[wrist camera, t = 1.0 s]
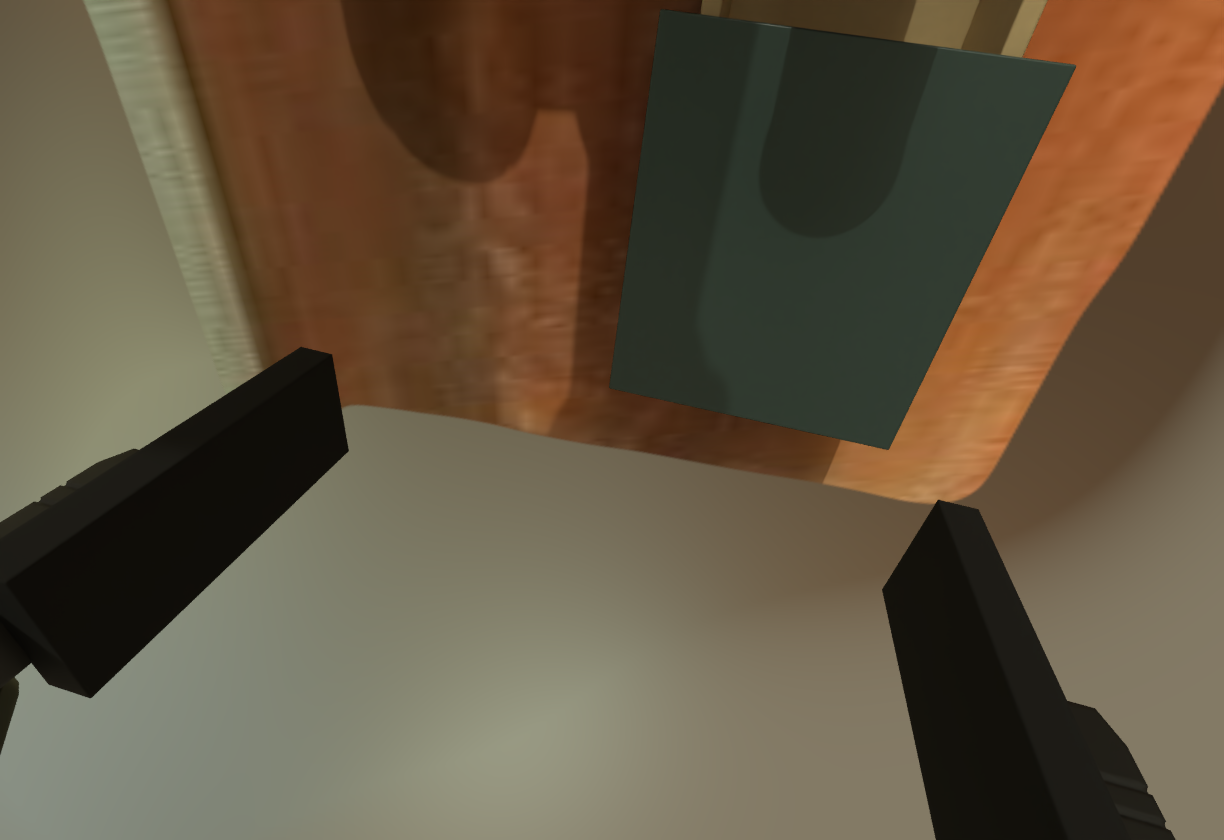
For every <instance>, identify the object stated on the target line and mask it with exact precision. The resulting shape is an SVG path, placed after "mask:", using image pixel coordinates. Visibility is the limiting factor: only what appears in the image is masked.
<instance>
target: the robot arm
mask: <svg viewBox="0 0 1224 840" xmlns="http://www.w3.org/2000/svg"><path fill="white" fill-rule="evenodd" d="M348 451H349V449H348V444H347V438H346V433H345V427H344V421H343V415H342V409H341V403H340V398H339V392H338V386H337V380H336V374H335V369H334V363H333V357H332V354H328V353H324V352H320V351H316V350H312V349H308V348H303V347H300V348H299V349H297V350H295V351H294V352H292V353H291V354H289V355H288V356H286V357H284V358H283V359H281V360H280V361H278V362H277V363H275V364H273V365H272V366H270V367H269V368H267V369H266V370H264V371H262V372H261V373H259V374H258V375H256V376H255V377H253V378H251V379H250V380H248V381H247V382H245V383H244V384H242V385H240V386H239V387H237V388H236V389H234V390H233V391H231V392H230V393H228V394H226V395H225V396H223V397H222V398H220V399H219V400H217V401H216V402H214V403H212V404H211V405H209V406H208V407H206V408H205V409H203V410H202V411H200V412H198V413H197V414H195V415H193V416H192V417H191V418H189V419H187V420H186V421H184V422H182V423H181V424H180V425H178V426H176V427H175V428H173V429H171V430H170V431H168V432H167V433H165V434H164V435H162V436H160V437H159V438H157V439H156V440H154V441H153V442H151V443H150V444H148V445H146V446H145V447H144V448H142V449H140V450H137V449H132V450H129V451H126V452H124V453H121V454H119V455H116V456H113V457H111V458H108V459H105V460H103V461H100V462H98V463H96V464H94V465H93V466H91V467H89V468H88V469H86V470H85V471H83V472H81V473H80V474H78V475H76V476H75V477H73V478H72V479H70V480H68V481H67V483H66V485H65V486H59V487H57V488H55V489H54V490H52V491H50V492H49V493H47V494H46V495H44V496H42V497H41V500H40V501H39V502H33V503H31V504H29V505H28V506H26V507H24V508H23V509H21V510H20V511H18V512H16V513H15V514H13V515H11V516H10V517H8V518H7V519H5V520H3V521H2V522H0V754H1V750H2V747H3V744H4V741H5V738H6V734H7V731H8V728H9V724H10V721H11V718H12V715H13V711H14V708H15V705H16V702H17V698H18V695H19V682H18V681H17V680H16V679H15V676H16V675H17V674H18V673H20V672H21V671H22V670H23V669H24V668H25V667H27V666H28V665H29V664H30V663H32V664H33V665H34V667H35V668H36V669H37V670H38V672H39V673H40V674H41V675H42V677H43V678H44V679H45V680H46V682H47V683H48V684H49V685H52V686H55V687H58V688H61V689H64V690H67V691H70V692H73V693H76V694H79V695H82V696H85V697H88V698H92V697H93V696H94V695H95V694H96V693H97V692H98V691H99V690H100V689H101V688H102V687H103V686H104V685H105V684H106V683H107V682H108V681H109V680H111V679H112V678H113V677H114V676H115V674H117V673H118V672H119V671H120V670H121V669H122V668H123V667H124V666H125V665H126V664H127V663H128V662H129V661H130V660H131V659H132V658H133V657H135V656H136V654H138V653H139V652H140V651H141V650H142V649H143V648H144V647H145V646H146V645H147V644H148V643H149V642H150V641H151V640H152V639H153V638H154V637H155V636H156V635H157V634H158V633H160V632H161V631H162V630H163V629H164V628H165V627H166V626H167V625H168V624H169V623H170V622H171V621H172V620H173V619H174V618H175V617H176V616H177V615H178V614H179V613H180V612H181V611H182V610H184V609H185V608H186V607H187V606H188V605H189V604H190V603H191V602H192V601H193V600H194V599H195V598H196V597H197V596H198V595H199V594H200V593H201V592H202V591H203V590H204V589H205V588H206V587H207V586H208V585H210V584H211V583H212V582H213V581H214V580H215V579H216V578H217V577H218V576H219V575H220V574H221V573H222V572H223V571H224V570H225V569H226V568H227V567H228V566H229V565H230V564H231V563H233V562H234V560H236V559H237V558H238V557H239V556H240V555H241V554H242V553H243V552H244V551H245V550H246V549H247V548H248V547H249V546H250V545H251V544H252V543H253V542H254V541H255V540H256V539H257V538H259V537H260V536H261V535H262V534H263V533H264V532H265V531H266V530H267V529H268V528H269V527H270V526H271V525H272V524H273V523H274V522H275V521H276V520H277V519H278V518H279V517H280V516H281V515H282V514H284V513H285V512H286V511H287V510H288V509H289V508H290V507H291V506H292V505H293V504H294V503H295V502H296V501H297V500H298V499H299V498H300V497H301V496H302V495H303V494H304V493H305V492H306V491H307V490H309V488H311V487H312V486H313V485H314V484H315V483H316V482H317V481H318V480H319V479H320V478H321V477H322V476H323V475H324V474H325V473H326V472H327V471H328V470H329V469H330V468H331V467H333V466H334V465H335V464H336V463H337V462H338V461H339V460H340V459H341V458H342V457H343V456H344V455H345V454H346V453H347V452H348ZM882 591H883V596H884V601H885V605H886V610H887V614H888V619H889V624H890V628H891V633H892V638H893V642H894V647H895V652H896V656H897V661H898V665H899V670H900V675H901V679H902V684H903V689H904V693H905V698H906V703H907V707H908V712H909V717H910V721H911V726H912V731H913V735H914V740H915V745H916V749H917V753H918V758H919V763H920V768H921V773H922V777H923V782H924V786H925V791H926V795H927V801H928V805H929V809H930V814H931V819H932V823H933V828H934V833H935V838H936V840H1175V838H1174V836H1173V834H1172V832H1171V831H1170V830H1168V829H1166V827H1165V822H1166V821H1165V819H1164V817H1163V815H1162V813H1161V811H1160V809H1159V807H1158V805H1157V803H1156V801H1155V799H1154V797H1153V796H1152V795H1150V794H1148V792H1147V788H1148V786H1147V784H1146V782H1145V780H1144V778H1143V776H1142V774H1141V772H1140V770H1139V768H1138V767H1137V765H1136V763H1135V761H1134V759H1133V757H1132V755H1131V753H1130V751H1129V749H1128V747H1127V746H1126V745H1125V743H1124V742H1123V741H1122V740H1121V739H1120V738H1119V736H1118V735H1117V734H1116V733H1115V732H1114V730H1113V729H1112V728H1111V727H1110V726H1109V725H1108V723H1107V722H1106V721H1105V720H1104V719H1103V717H1102V716H1101V715H1100V714H1099V713H1098V712H1097V710H1096V709H1095V708H1091V707H1088V706H1084V705H1080V704H1077V703H1073V702H1070V701H1067V700H1066V698H1065V695H1064V693H1063V691H1062V689H1061V687H1060V685H1059V682H1058V680H1057V678H1056V676H1055V674H1054V672H1053V670H1052V667H1051V665H1050V663H1049V661H1048V659H1047V657H1046V654H1045V652H1044V650H1043V648H1042V646H1041V644H1040V641H1039V639H1038V637H1037V635H1036V633H1035V631H1034V628H1033V626H1032V624H1031V622H1030V620H1029V618H1028V615H1027V613H1026V611H1025V609H1024V607H1023V605H1022V602H1021V600H1020V598H1019V596H1018V594H1017V592H1016V590H1015V587H1014V585H1013V583H1012V581H1011V579H1010V577H1009V574H1008V572H1007V570H1006V568H1005V566H1004V564H1003V561H1002V559H1001V557H1000V555H999V553H998V551H997V549H996V546H995V544H994V542H993V540H992V538H991V535H990V533H989V531H988V529H987V527H986V525H985V522H984V520H983V518H982V516H981V514H980V512H979V510H978V509H974V508H970V507H966V506H962V505H958V504H954V503H950V502H945V501H941V500H938V501H937V502H936V504H935V506H934V507H933V509H932V510H931V512H930V514H929V515H928V517H927V518H926V520H925V522H924V523H923V525H922V526H921V528H920V530H919V531H918V533H917V535H916V536H915V538H914V539H913V541H912V542H911V544H910V546H909V547H908V549H907V551H906V552H905V554H904V555H903V557H902V559H901V560H900V562H899V563H898V565H897V567H896V568H895V570H894V571H893V573H892V575H891V576H890V578H889V579H888V581H887V583H886V584H885V586H884V587H883V589H882Z"/></svg>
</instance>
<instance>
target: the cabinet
mask: <svg viewBox="0 0 1224 840" xmlns="http://www.w3.org/2000/svg"><path fill="white" fill-rule="evenodd" d="M1075 68H1076V65H1073V64H1066V63H1058V62H1051V61H1044V60H1036V59H1029V58H1021V57H1014V56H1007V55H999V54H992V53H984V52H977V51H970V50H962V49H955V48H947V47H940V46H933V45H925V44H918V43H910V42H903V41H896V40H888V39H881V38H873V37H866V36H859V35H851V34H844V33H836V32H829V31H822V30H814V29H807V28H799V27H792V26H785V25H777V24H770V23H762V22H755V21H748V20H740V19H733V18H725V17H718V16H711V15H703V14H696V13H688V12H681V11H674V10H666V9H661V10H660V15H659V22H658V29H657V37H656V44H655V52H654V59H653V66H652V74H651V81H650V89H649V96H648V103H647V111H646V118H645V126H644V133H643V140H642V148H641V155H640V163H639V170H638V177H637V185H636V192H635V200H634V207H633V214H632V222H631V229H630V237H629V244H628V251H627V259H626V266H625V274H624V281H623V288H622V296H621V303H620V311H619V318H618V325H617V333H616V340H615V348H614V355H613V362H612V370H611V377H610V385H609V388H611V389H615V390H620V391H624V392H629V393H633V394H638V395H642V396H647V397H651V398H656V399H660V400H665V401H669V402H674V403H678V404H683V405H687V406H692V407H696V408H701V409H706V410H710V411H715V412H719V413H724V414H728V415H733V416H737V417H742V418H746V419H751V420H755V421H760V422H764V423H769V424H773V425H778V426H782V427H787V428H791V429H796V430H800V431H805V432H809V433H814V434H818V435H823V436H827V437H832V438H837V439H841V440H846V441H850V442H855V443H859V444H864V445H868V446H873V447H877V448H882V449H886V450H889V448H890V446H891V444H892V442H893V440H894V438H895V436H896V434H897V432H898V430H899V428H900V426H901V424H902V422H903V420H904V418H905V416H906V413H907V411H908V409H909V407H910V405H911V403H912V401H913V399H914V397H915V395H916V393H917V391H918V389H919V387H920V385H921V383H922V381H923V379H924V377H925V375H926V373H927V371H928V369H929V367H930V364H931V362H932V360H933V358H934V356H935V354H936V352H937V350H938V348H939V346H940V344H941V342H942V340H943V338H944V336H945V334H946V332H947V330H948V328H949V326H950V324H951V322H952V320H953V318H954V315H955V313H956V311H957V309H958V307H959V305H960V303H961V301H962V299H963V297H964V295H965V293H966V291H967V289H968V287H969V285H970V283H971V281H972V279H973V277H974V275H975V273H976V271H977V268H978V266H979V264H980V262H981V260H982V258H983V256H984V254H985V252H986V250H987V248H988V246H989V244H990V242H991V240H992V238H993V236H994V234H995V232H996V230H997V228H998V226H999V224H1000V222H1001V219H1002V217H1003V215H1004V213H1005V211H1006V209H1007V207H1008V205H1009V203H1010V201H1011V199H1012V197H1013V195H1014V193H1015V191H1016V189H1017V187H1018V185H1019V183H1020V181H1021V179H1022V177H1023V175H1024V173H1025V170H1026V168H1027V166H1028V164H1029V162H1030V160H1031V158H1032V156H1033V154H1034V152H1035V150H1036V148H1037V146H1038V144H1039V142H1040V140H1041V138H1042V136H1043V134H1044V132H1045V130H1046V128H1047V126H1048V124H1049V121H1050V119H1051V117H1052V115H1053V113H1054V111H1055V109H1056V107H1057V105H1058V103H1059V101H1060V99H1061V97H1062V95H1063V93H1064V91H1065V89H1066V87H1067V85H1068V83H1069V81H1070V79H1071V77H1072V74H1073V72H1074V70H1075Z"/></svg>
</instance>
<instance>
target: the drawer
mask: <svg viewBox="0 0 1224 840" xmlns="http://www.w3.org/2000/svg"><path fill="white" fill-rule="evenodd" d="M1046 3H1047V0H702V5H701V11H700V14H703V15H711V16H718V17H725V18H733V19H740V20H748V21H755V22H762V23H770V24H777V25H785V26H792V27H799V28H807V29H814V30H822V31H829V32H836V33H844V34H851V35H859V36H866V37H873V38H881V39H888V40H896V41H903V42H910V43H918V44H925V45H933V46H940V47H947V48H955V49H962V50H970V51H977V52H984V53H992V54H999V55H1007V56H1014V57H1021V58H1022V57H1023V55H1024V52H1025V50H1026V48H1027V46H1028V43H1029V41H1030V39H1031V37H1032V34H1033V32H1034V30H1035V28H1036V25H1037V23H1038V21H1039V18H1040V16H1041V14H1042V12H1043V9H1044V7H1045V5H1046Z"/></svg>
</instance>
